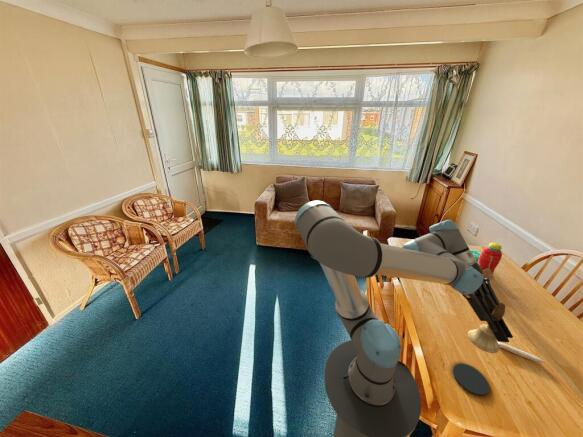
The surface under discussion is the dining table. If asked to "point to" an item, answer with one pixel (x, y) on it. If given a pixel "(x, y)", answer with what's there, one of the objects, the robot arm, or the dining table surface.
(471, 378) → the corner coaster
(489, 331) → the hand bell
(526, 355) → the pen
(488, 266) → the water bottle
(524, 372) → the dining table surface
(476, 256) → the decorative dice
